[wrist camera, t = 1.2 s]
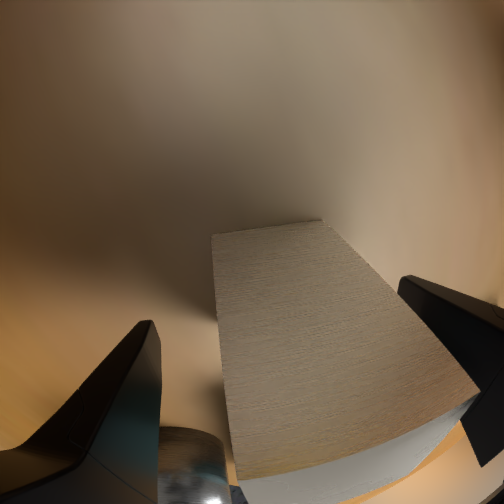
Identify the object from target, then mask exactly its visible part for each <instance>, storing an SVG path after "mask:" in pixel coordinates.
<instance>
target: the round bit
mask: <svg viewBox="0 0 504 504" xmlns="http://www.w3.org/2000/svg"><path fill="white" fill-rule="evenodd" d="M158 504H232V501H231V495H230V488H229V481H228V474H227V467H226V459H225V451H224V445H223V443H222V441H221V440H220V439H218V438H217V437H215V436H214V435H211V434H209V433H206V432H203V431H199V430H195V429H190V428H182V427H159V445H158Z"/></svg>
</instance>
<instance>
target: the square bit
mask: <svg viewBox="0 0 504 504" xmlns="http://www.w3.org/2000/svg"><path fill="white" fill-rule="evenodd" d="M211 244H212V259H213V273H214V286H215V299H216V310H217V321H218V332H219V342H220V352H221V362H222V371H223V380H224V388H225V397H226V405H227V413H228V421H229V428H230V436H231V443H232V450H233V457H234V463H235V470H236V476H237V482H238V484H239V486H240V488H241V490H242V492H243V494H244V496H245V498H246V500H247V501H248V503H249V504H336V503H339V502H343V501H346V500H349V499H351V498H354V497H357V496H360V495H362V494H365V493H368V492H370V491H373V490H375V489H378V488H380V487H382V486H385V485H387V484H389V483H392V482H394V481H396V480H398V479H400V478H402V477H404V476H406V475H408V474H409V473H410V472H411V471H412V470H413V469H414V468H416V467H417V466H418V465H419V464H420V463H421V462H422V461H423V460H424V459H425V458H426V457H427V456H428V455H429V454H430V453H431V452H432V451H433V449H434V448H435V447H436V446H437V445H438V444H439V443H440V442H441V441H442V440H443V439H444V437H445V436H446V435H447V434H448V433H449V432H450V430H451V429H452V428H453V427H454V426H455V425H456V423H457V422H458V421H459V420H460V418H461V417H462V416H463V415H464V413H465V412H466V411H467V409H468V408H469V407H470V405H471V404H472V403H473V401H474V400H475V399H476V397H477V396H478V394H479V393H480V390H479V388H478V387H477V386H476V384H475V383H474V382H473V381H472V379H471V378H470V377H469V375H468V374H467V373H466V372H465V370H464V369H463V368H462V367H461V365H460V364H459V363H458V362H457V361H456V359H455V358H454V357H453V356H452V355H451V353H450V352H449V351H448V350H447V349H446V347H445V346H444V345H443V344H442V343H441V342H440V340H439V339H438V338H437V337H436V336H435V335H434V333H433V332H432V331H431V330H430V329H429V328H428V327H427V325H426V324H425V323H424V322H423V321H422V320H421V319H420V318H419V317H418V315H417V314H416V313H415V312H414V311H413V310H412V309H411V308H410V307H409V306H408V305H407V303H406V302H405V301H404V300H403V299H402V298H401V297H400V296H399V295H398V294H397V293H396V292H395V291H394V290H393V289H392V288H391V287H390V285H389V284H388V283H387V282H386V281H385V280H384V279H383V278H382V277H381V276H380V275H379V274H378V273H377V272H376V271H375V270H374V269H373V268H372V267H371V266H370V265H369V264H368V263H367V262H366V261H365V260H364V259H363V258H362V257H361V256H360V255H359V254H358V253H357V252H356V251H355V250H354V249H353V248H352V247H351V246H350V245H349V244H348V243H346V242H345V241H344V240H343V239H342V238H341V237H340V236H339V235H338V234H337V233H336V232H335V231H334V230H333V229H332V228H331V227H330V226H328V225H327V224H326V223H325V222H324V221H323V220H318V221H310V222H302V223H294V224H286V225H278V226H270V227H263V228H255V229H248V230H240V231H233V232H226V233H219V234H211Z"/></svg>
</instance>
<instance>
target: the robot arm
mask: <svg viewBox="0 0 504 504" xmlns="http://www.w3.org/2000/svg"><path fill="white" fill-rule="evenodd" d="M397 294H398V295H399V296H400V297H401V298H402V299H403V300H404V301H405V302H406V303H407V305H408V306H409V307H410V308H411V309H412V310H413V311H414V312H415V313H416V314H417V315H418V317H419V318H420V319H421V320H422V321H423V322H424V323H425V324H426V325H427V327H428V328H429V329H430V330H431V331H432V332H433V333H434V335H435V336H436V337H437V338H438V339H439V340H440V342H441V343H442V344H443V345H444V346H445V347H446V349H447V350H448V351H449V352H450V353H451V355H452V356H453V357H454V358H455V359H456V361H457V362H458V363H459V364H460V365H461V367H462V368H463V369H464V370H465V372H466V373H467V374H468V375H469V377H470V378H471V379H472V381H473V382H474V383H475V384H476V386H477V387H478V388H479V390H480V393H479V394H478V396H477V397H476V399H475V400H474V401H473V403H472V404H471V405H470V407H469V408H468V409H467V411H466V412H465V413H464V415H463V416H462V417H461V418H460V421H461V423H462V426H463V428H464V430H465V432H466V435H467V437H468V439H469V441H470V443H471V446H472V448H473V450H474V453H475V455H476V457H477V460H478V462H479V465H480V466H481V467H483V466H484V465H486V464H487V463H488V462H489V461H491V460H492V459H493V458H494V457H495V456H497V455H498V454H499V453H500V452H501V451H502V450H504V309H503V308H500V307H498V306H495V305H493V304H489V303H487V302H485V301H482V300H479V299H477V298H474V297H471V296H469V295H466V294H463V293H460V292H458V291H455V290H452V289H450V288H447V287H444V286H441V285H438V284H436V283H433V282H430V281H427V280H424V279H422V278H419V277H416V276H413V275H407V276H403V277H402V278H401V279H400V282H399V287H398V291H397ZM161 394H162V371H161V342H160V338H159V336H158V333H157V330H156V327H155V325H154V322H153V321H152V320H142V321H139V322H138V323H137V324H136V325H135V326H134V327H133V329H132V330H131V331H130V332H129V333H128V334H127V335H126V336H125V337H124V338H123V339H122V340H121V341H120V343H119V344H118V345H117V346H116V347H115V348H114V349H113V350H112V351H111V352H110V353H109V354H108V356H107V357H106V358H105V359H104V360H103V361H102V362H101V363H100V364H99V365H98V367H97V368H96V369H95V370H94V371H93V372H92V373H91V374H90V375H89V377H88V378H87V379H86V380H85V381H84V382H83V383H82V384H81V386H80V387H79V390H78V389H77V390H76V391H75V392H74V393H73V394H72V396H71V397H70V398H69V399H68V400H67V401H66V402H65V403H64V404H63V405H62V407H61V408H60V409H59V410H58V411H57V412H56V413H55V414H54V415H53V416H52V417H51V418H50V419H48V420H47V421H46V422H45V423H44V424H43V425H42V426H41V427H40V428H39V429H38V430H37V431H36V432H35V433H34V434H33V435H32V436H31V437H30V438H29V439H28V440H26V441H25V442H24V443H23V444H21V445H20V446H18V447H16V448H13V449H9V450H3V451H0V504H158V445H159V424H160V408H161ZM479 504H504V480H503V484H502V485H501V486H500V487H499V488H498V489H496V490H495V491H494V492H493V493H492V494H491V495H489V496H488V497H487V498H486V499H484V500H483V501H482V502H481V503H479Z"/></svg>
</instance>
